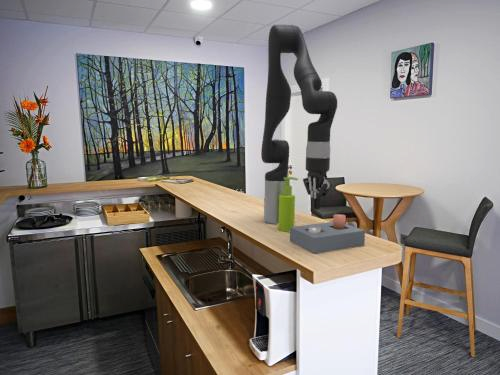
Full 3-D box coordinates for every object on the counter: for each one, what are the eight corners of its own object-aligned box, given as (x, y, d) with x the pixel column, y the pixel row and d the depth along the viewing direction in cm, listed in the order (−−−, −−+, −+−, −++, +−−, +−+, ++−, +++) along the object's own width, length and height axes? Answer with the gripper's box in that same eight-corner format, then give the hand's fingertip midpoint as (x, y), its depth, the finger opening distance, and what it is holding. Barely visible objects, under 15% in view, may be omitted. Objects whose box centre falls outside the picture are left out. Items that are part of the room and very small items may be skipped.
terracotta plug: (330, 229, 127) (331, 214, 126) (339, 227, 129) (340, 213, 128) (338, 232, 123) (338, 217, 122) (347, 230, 125) (348, 216, 124)
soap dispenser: (296, 232, 137) (297, 178, 134) (277, 231, 139) (278, 178, 136) (297, 228, 143) (298, 176, 140) (279, 227, 144) (280, 176, 141)
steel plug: (305, 241, 123) (306, 227, 122) (315, 240, 125) (316, 225, 124) (312, 245, 120) (313, 230, 119) (322, 243, 121) (323, 228, 120)
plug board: (289, 241, 126) (290, 227, 126) (337, 234, 135) (337, 221, 134) (313, 253, 114) (314, 237, 113) (364, 245, 122) (365, 230, 122)
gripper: (296, 154, 122) (294, 206, 125) (320, 158, 110) (318, 215, 113) (315, 153, 125) (313, 204, 128) (340, 157, 113) (338, 212, 116)
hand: (315, 209), depth 121 cm, fingers closed
